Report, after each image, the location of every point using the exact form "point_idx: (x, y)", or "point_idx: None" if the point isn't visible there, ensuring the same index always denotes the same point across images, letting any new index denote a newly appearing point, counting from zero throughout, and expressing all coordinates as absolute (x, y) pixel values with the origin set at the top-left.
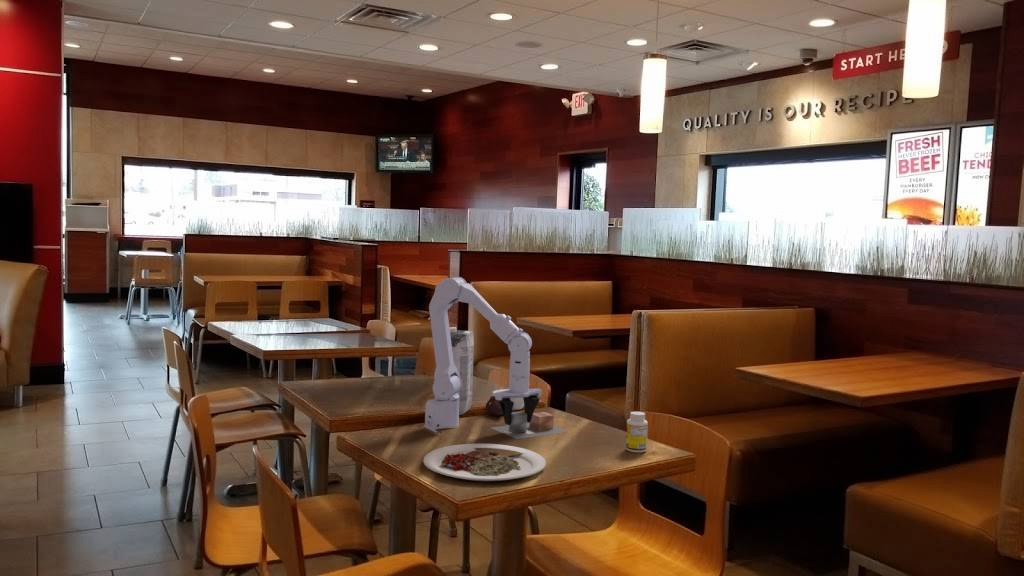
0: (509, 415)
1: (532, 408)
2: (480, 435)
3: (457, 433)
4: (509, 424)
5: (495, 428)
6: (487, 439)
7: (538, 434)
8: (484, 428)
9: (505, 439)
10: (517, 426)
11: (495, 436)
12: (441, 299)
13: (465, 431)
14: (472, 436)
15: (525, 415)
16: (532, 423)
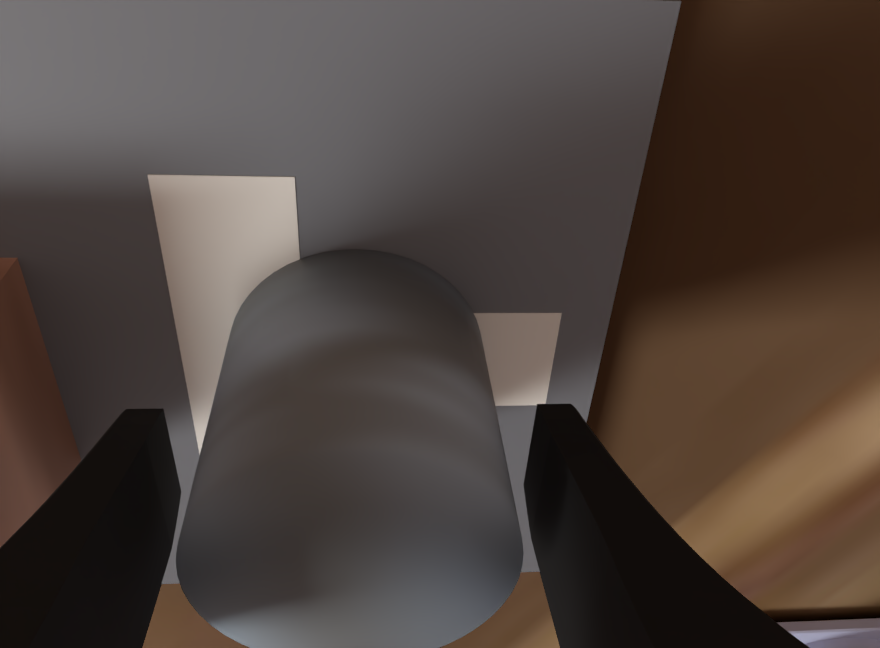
0: (640, 510)
1: (18, 606)
2: (754, 453)
3: (861, 564)
4: (560, 406)
5: (525, 531)
6: (835, 303)
7: (133, 69)
8: (524, 610)
9: (656, 211)
10: (444, 336)
11: (652, 368)
12: None
13: (749, 588)
14: (850, 452)
15: (279, 456)
16: (41, 455)
